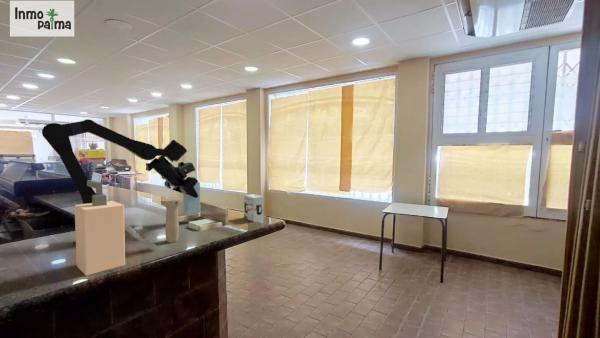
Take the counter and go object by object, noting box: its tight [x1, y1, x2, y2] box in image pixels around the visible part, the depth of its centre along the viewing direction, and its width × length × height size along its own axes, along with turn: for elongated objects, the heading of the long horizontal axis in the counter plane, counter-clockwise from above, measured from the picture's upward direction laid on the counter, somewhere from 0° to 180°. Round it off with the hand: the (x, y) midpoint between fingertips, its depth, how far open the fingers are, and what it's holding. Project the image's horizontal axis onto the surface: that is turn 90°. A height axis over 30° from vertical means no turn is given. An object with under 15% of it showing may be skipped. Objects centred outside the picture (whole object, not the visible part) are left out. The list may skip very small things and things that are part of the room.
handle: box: [160, 197, 183, 243], centre depth 89 cm, size 5×6×15 cm
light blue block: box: [182, 181, 201, 215], centre depth 113 cm, size 5×4×12 cm
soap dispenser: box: [74, 179, 126, 276], centre depth 74 cm, size 13×9×22 cm
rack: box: [178, 201, 229, 232], centre depth 112 cm, size 12×20×8 cm, turn 47°
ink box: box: [243, 193, 264, 224], centre depth 120 cm, size 9×5×12 cm, turn 42°
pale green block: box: [188, 218, 217, 231], centre depth 106 cm, size 8×6×2 cm
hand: (194, 196), depth 114 cm, fingers closed on light blue block, 4 cm apart
